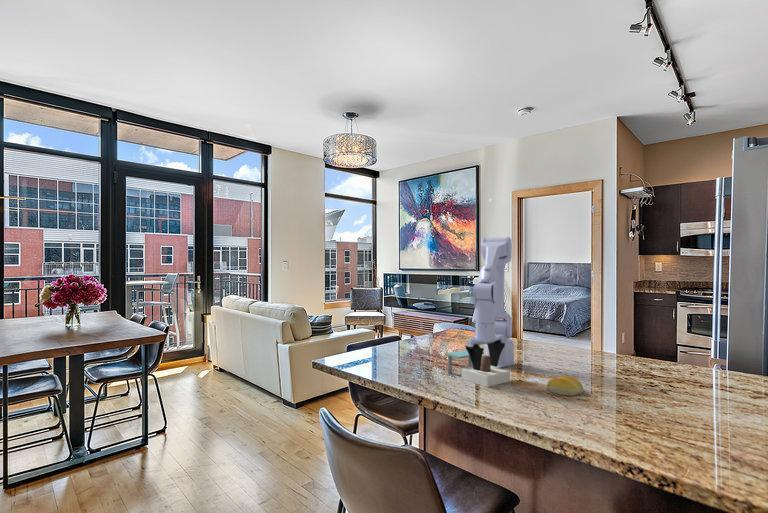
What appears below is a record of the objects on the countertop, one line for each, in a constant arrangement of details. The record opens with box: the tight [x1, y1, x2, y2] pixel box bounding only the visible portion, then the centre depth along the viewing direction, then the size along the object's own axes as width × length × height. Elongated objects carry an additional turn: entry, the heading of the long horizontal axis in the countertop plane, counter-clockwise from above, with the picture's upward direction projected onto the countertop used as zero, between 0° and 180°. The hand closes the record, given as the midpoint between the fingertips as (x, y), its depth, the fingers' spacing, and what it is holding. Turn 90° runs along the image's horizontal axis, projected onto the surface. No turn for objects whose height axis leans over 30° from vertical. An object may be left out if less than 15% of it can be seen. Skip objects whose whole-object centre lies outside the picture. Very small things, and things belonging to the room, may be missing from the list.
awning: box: [445, 349, 485, 375], centre depth 127 cm, size 11×6×6 cm, turn 124°
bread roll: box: [546, 375, 585, 396], centre depth 109 cm, size 8×9×4 cm
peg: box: [481, 355, 491, 372], centre depth 119 cm, size 3×3×7 cm
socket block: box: [461, 365, 511, 388], centre depth 119 cm, size 10×10×3 cm
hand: (485, 367), depth 119 cm, fingers open, 7 cm apart
